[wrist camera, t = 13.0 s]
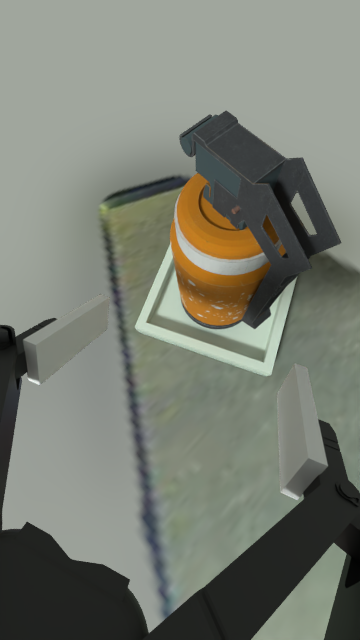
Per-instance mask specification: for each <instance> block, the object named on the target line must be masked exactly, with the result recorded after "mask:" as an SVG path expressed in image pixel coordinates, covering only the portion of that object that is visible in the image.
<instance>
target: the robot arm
mask: <svg viewBox="0 0 360 640" xmlns="http://www.w3.org/2000/svg"><path fill="white" fill-rule="evenodd" d="M109 299H110V297H107V296H104V295H101V294H100V295H98V296H96V297H95V298H93V299H91V300H90V301H88V302H86V303H84V304H83V305H81V306H79V307H78V308H76V309H74V310H72V311H71V312H69V313H67V314H66V315H64V316H62V317H61V318H59V319H56V318H52V319H48V320H45V321H43V322H41V323H40V324H38V325H36V326H34V327H33V328H30V329H29V330H27V331H25V332H23V333H22V334H20V335H18V336H16V337H15V331H14V328H12V327H11V326H7V325H0V640H251V639H252V638H253V636H254V635H255V634H256V633H257V632H258V631H259V629H260V628H261V627H262V626H263V625H264V623H265V622H266V621H267V620H268V619H269V618H270V616H271V615H272V614H273V613H274V612H275V611H276V609H277V608H278V607H279V606H280V605H281V604H282V602H283V601H284V600H285V599H286V598H287V596H288V595H289V594H290V593H291V592H292V591H293V589H294V588H295V587H296V586H297V585H298V584H299V582H300V581H301V580H302V579H303V578H304V576H305V575H306V574H307V573H308V572H309V571H310V569H311V568H312V567H313V566H314V565H315V564H316V562H317V561H318V560H319V559H320V558H321V557H322V555H323V554H324V553H325V552H326V551H327V549H328V548H329V547H330V546H331V545H332V544H333V542H334V543H335V544H336V545H337V546H339V547H340V548H341V549H342V550H343V551H345V552H346V553H347V555H346V559H345V563H344V566H343V570H342V574H341V578H340V581H339V585H338V589H337V593H336V596H335V600H334V604H333V608H332V611H331V615H330V619H329V623H328V626H327V630H326V634H325V638H324V640H360V493H359V491H358V490H357V488H356V487H355V486H354V485H353V484H352V483H351V482H350V481H348V477H347V474H346V470H345V466H344V463H343V459H342V455H341V452H340V448H339V444H338V441H337V437H336V433H335V432H334V430H333V429H332V427H331V426H330V424H329V423H326V422H324V421H321V420H319V419H318V417H317V412H316V407H315V403H314V398H313V393H312V389H311V384H310V379H309V374H308V370H307V367H304V366H301V365H299V364H296V363H294V365H293V367H292V369H291V370H290V372H289V374H288V376H287V377H286V379H285V381H284V382H283V384H282V386H281V388H280V389H279V391H278V393H277V407H278V437H279V466H280V492H281V493H283V494H285V495H287V496H289V497H292V498H294V499H296V500H298V499H299V498H300V497H301V495H302V494H304V500H303V501H302V502H300V503H299V504H298V505H297V506H296V507H295V508H294V509H292V510H291V511H290V512H289V513H288V514H287V515H286V516H285V517H283V518H282V519H281V520H280V521H279V522H278V523H277V524H275V525H274V526H273V527H272V528H271V529H270V530H269V531H267V532H266V533H265V534H264V535H263V536H262V537H261V538H260V539H258V540H257V541H256V542H255V543H254V544H253V545H252V546H250V547H249V548H248V549H247V550H246V551H245V552H244V553H242V554H241V555H240V556H239V557H238V558H237V559H236V560H235V561H233V562H232V563H231V564H230V565H229V566H228V567H227V568H225V569H224V570H223V571H222V572H221V573H220V574H219V575H217V576H216V577H215V578H214V579H213V580H212V581H211V582H210V583H208V584H207V585H206V586H205V587H204V588H202V589H200V590H199V591H198V592H196V593H195V594H194V595H193V596H191V597H190V598H189V599H188V600H187V601H186V602H184V603H183V604H182V605H181V606H180V607H179V608H178V609H176V610H175V611H174V612H173V613H172V614H171V615H170V616H168V617H167V618H166V619H165V620H164V621H163V622H162V623H160V624H159V625H158V626H157V627H156V628H155V629H154V630H152V631H151V632H150V633H149V632H148V629H147V624H146V620H145V617H144V615H143V612H142V609H141V607H140V605H139V603H138V601H137V599H136V598H135V596H134V595H133V593H132V592H131V591H130V590H129V589H128V588H127V587H128V584H129V581H130V579H128V578H126V577H124V576H122V575H121V574H119V573H117V572H116V571H114V570H112V569H110V568H108V567H107V566H105V565H103V564H96V563H89V562H83V561H76V560H72V559H70V558H69V557H68V556H67V554H66V553H65V552H64V551H63V550H62V548H61V547H60V546H59V545H58V543H57V542H56V541H55V540H54V539H53V537H52V536H51V535H50V534H48V533H46V532H44V531H43V530H41V529H39V528H37V527H35V526H34V525H32V524H30V523H28V522H26V524H25V525H24V526H23V528H22V529H9V530H2V507H3V500H4V494H5V487H6V480H7V474H8V468H9V462H10V455H11V448H12V442H13V435H14V429H15V422H16V416H17V409H18V402H19V396H20V389H21V383H22V378H21V376H22V375H24V374H25V373H26V372H27V375H28V380H29V381H32V382H34V383H36V384H39V385H41V384H42V383H43V382H44V381H45V380H46V379H48V378H49V377H50V376H51V375H53V374H54V373H55V372H56V371H58V370H59V369H60V368H61V367H62V366H64V365H65V364H66V363H67V362H68V361H69V360H71V359H72V358H73V357H74V356H75V355H77V354H78V353H79V352H80V351H81V350H83V349H84V348H85V347H86V346H88V345H89V344H90V343H91V342H92V341H93V340H95V339H96V338H97V337H98V336H100V335H101V334H102V333H103V332H105V331H106V330H107V325H108V312H109Z"/></svg>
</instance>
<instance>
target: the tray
mask: <svg viewBox="0 0 360 640" xmlns="http://www.w3.org/2000/svg"><path fill="white" fill-rule="evenodd" d="M296 278H297V277H296ZM296 278H295V279H294V280H293V281H292V282H291V283H290V284H289V285H287V287H286V288H285V289H284V290H283V292H282V293H281V294H280V295H279V297H278V298H277V299H276V300H275V302H274V303H273V304H272V305H271V307H270V311H271V316H270V317H269V318H268V319H266V320H265V321H264V322H263V323H262V324H261V325H259V326H258V327H257V328H256V329H253V328H252V327H250V326H249V325H247V324H246V323H244V322H243V321H242V322H240V323H239V324H237V325H235V326H233V327H230V328H227V329H209V328H206V327H203V326H201V325H199V324H197V323H196V322H194V321H193V320H192V319H191V318H190V317H189V316H188V315H187V314H186V312H185V310H184V308H183V306H182V303H181V298H180V292H179V287H178V282H177V276H176V271H175V265H174V260H173V255H172V249H171V244H170V246H169V248H168V251H167V253H166V255H165V258H164V260H163V262H162V265H161V267H160V269H159V272H158V274H157V276H156V279H155V281H154V283H153V286H152V288H151V291H150V293H149V295H148V298H147V300H146V302H145V305H144V307H143V309H142V312H141V314H140V316H139V319H138V321H137V323H136V326H135V328H136V329H137V330H138V332H139V333H142V334H145V335H148V336H151V337H153V338H156V339H159V340H162V341H165V342H168V343H171V344H173V345H176V346H179V347H182V348H185V349H188V350H191V351H193V352H196V353H199V354H202V355H205V356H208V357H211V358H213V359H216V360H219V361H222V362H225V363H228V364H231V365H233V366H236V367H239V368H242V369H245V370H248V371H250V372H253V373H256V374H259V375H262V376H265V377H266V376H269V375H271V373H272V369H273V366H274V362H275V358H276V354H277V350H278V347H279V343H280V339H281V335H282V331H283V328H284V324H285V320H286V316H287V313H288V309H289V305H290V301H291V297H292V294H293V290H294V286H295V282H296Z"/></svg>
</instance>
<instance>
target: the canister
mask: <svg viewBox="0 0 360 640" xmlns="http://www.w3.org/2000/svg"><path fill="white" fill-rule="evenodd" d="M211 117H212V115H208V116H207V117H205V118H204V119H202V120H201V121H199V122H198V123H197V124H195V125H194V126H192V127H191V128H189V129H188V130H187V131H185V132H183V133H182V134H181V135H180V144H181V146H182V149H183V150H184V152H185V153H186V154H187V155H188V156H189V157H193V156H194V155H196V171H197V172H198V173H197V174H196V175H194V176H193V177H192V178H191V179H190V180H189V181H188V182H187V183H186V185H185V186H184V188H183V189H182V191H181V193H180V195H179V196H178V199H177V201H176V205H175V210H174V220H173V222H172V225H171V230H170V243H171V249H172V255H173V260H174V265H175V271H176V276H177V282H178V287H179V292H180V298H181V303H182V306H183V308H184V310H185V312H186V314H187V315H188V316H189V317H190V318H191V319H192V320H193V321H194V322H196V323H197V324H199V325H201V326H203V327H206V328H209V329H227V328H230V327H233V326H235V325H237V324H239V323H240V322H242V321H243V322H244V323H246V324H247V325H249V326H250V327H252V328H253V329H256V328H257V327H258V326H259V325H261V324H262V323H263V322H264V321H265V320H266V319H268V318H269V317H270V316H271V311H270V307H271V305H272V304H273V303H274V302H275V300H276V299H277V298H278V297H279V295H280V294H281V293H282V292H283V290H284V289H285V288H286V287H287V285H289V284H290V283H291V282H292V281H293V280H294V279H295V278H296V277H297V276H298V274H299V273H300V272H303V271H306V270H309V269H311V268H312V267H311V265H310V263H309V261H308V259H309V258H310V256H311V255H314V254H316V253H319V252H321V251H324V250H326V249H328V248H331V247H333V246H336V245H338V244H340V243H341V241H340V239H339V236H338V234H337V232H336V230H335V228H334V225H333V223H332V221H331V219H330V217H329V215H328V212H327V210H326V208H325V206H324V204H323V202H322V199H321V197H320V195H319V193H318V191H317V188H316V186H315V184H314V182H313V180H312V177H311V175H310V173H309V171H308V169H307V166H306V164H305V162H304V159H303V158H289V159H287V158H285V157H284V156H282V155H281V154H280V153H278V152H277V151H276V150H274V149H273V148H271V147H270V146H269V145H267V144H266V143H265V142H263V141H262V140H261V139H259V138H258V137H257V136H255V135H254V134H252V133H251V132H250V131H248V130H247V129H246V128H244V127H243V126H241V125H240V124H239V123H238V120H237V118H236V117H234V116H233V115H232V114H230V113H229V112H227V111H225V112H223V113H222V114H220V115H219V116H218V115H214V116H213V117H212V118H211ZM295 193H299V195H300V197H301V200H302V202H303V204H304V206H305V208H306V211H307V213H308V215H309V217H310V219H311V221H312V224H313V226H314V228H315V230H316V232H317V234H316V235H309V233H308V232H307V230H306V228H305V227H304V225H303V223H302V222H301V220H300V218H299V217H298V215H297V213H296V212H295V210H294V208H293V207H292V205H291V202H292V200H293V198H294V196H295ZM285 252H286V253H285Z"/></svg>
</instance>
